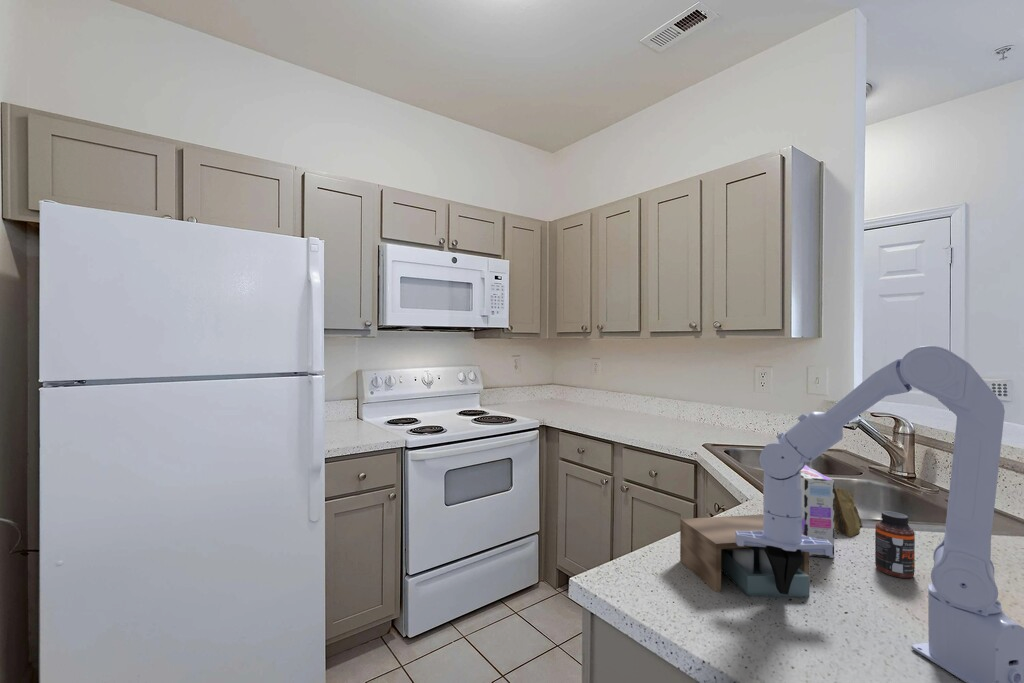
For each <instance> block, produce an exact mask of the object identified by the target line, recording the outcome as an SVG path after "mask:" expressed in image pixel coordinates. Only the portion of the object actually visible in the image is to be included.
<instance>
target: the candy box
mask: <svg viewBox="0 0 1024 683" xmlns="http://www.w3.org/2000/svg"><path fill="white" fill-rule="evenodd" d="M800 473H801V488H802V534H803V535H805V536H807V537H811V538H816V539H823V540H828V541H829V542H830V543H831V544H832V545H833V556H827V555H825V554H822V553H813V552H809V557H819V558H820V557H821V558H827V559H828V558H829V559H834V558H835V529H834V488H835V479H831V477H828V476H827V475H824V474H823V473H821V472H819V471H817V470H815V469H813V468H812V467H810V466H808V465H807V464H805V466H804V468H803V469H802V470H801V471H800Z"/></svg>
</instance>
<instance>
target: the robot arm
mask: <svg viewBox="0 0 1024 683" xmlns="http://www.w3.org/2000/svg"><path fill="white" fill-rule="evenodd" d="M913 388H915V389H916V390H918V391H921V392H923V393H925V394H927V395H930V396H931V397H934V398H936V399H937V400H938V401H939V402H940V403H941V404H942V405H943V406H944V407H946V408H947V409H948V410H949V411H950V412H952V413H953V414H954V415H955V416H956V424H955V433H954V434H955V435H954V441H953V443H954V444H953V450H952V451H953V453H952V462H951V470H950V471H951V473H950V481H949V482H950V483H949V489H948V490H949V491H948V498H947V499H948V501H947V510H946V519H945V530H944V536H943V539H942V541H941V542H940V544H938V545H937V546H936V548H935V549H934V551H933V554H932V555H933V556H932V558H933V561H934V562H933V567H932V569H931V573H930V579H931V583H929V584H928V586H927V592H928V595H927V596H928V597H927V598H928V599H927V600H928V602H927V606H928V610H927V611H928V612H927V613H928V615H927V616H928V623H927V624H928V642H923V643H915V644H911V649H912V650H913V651H914V652H917V653H918V654H919V655H921V656H923V657H925V659H928V660H930V661H931V662H932V663H934V664H936V665H937V666H938V667H940V668H942V669H943V670H946V671H947V672H948V673H950V674H951V675H953V676H955V677H956V678H957V679H960V680H961V681H963V682H965V683H1024V626H1022V625H1021V624H1019V623H1017V622H1016V621H1014V620H1012V619H1011V618H1010V617H1009V616H1008V615H1006V613H1005V612H1004V611H1003V607H1002V603H1001V602H1000V601H999V599H998V598H999V589H998V587H997V584H996V580H995V579H996V578H995V566H994V563H993V561H992V560H991V554H992V533H993V532H992V531H993V523H994V517H995V504H996V496H997V486H998V479H999V478H998V476H999V468H1000V458H1001V449H1002V442H1003V441H1002V440H1003V431H1004V430H1003V429H1004V423H1005V422H1004V421H1005V405H1004V404H1003V402H1002V401H1001V399H999V397H998V396H997V394H996V393H995V392H994V391H993V390H992V389H991V387H990V386H989V385H988V384H987V383H986V381H984V379H983V378H982V376H981V375H980V374H979V373H978V372H977V371H976V369H975V368H974V367H973V366H972V365H971V363H969V362H968V361H967V360H965V359H963V357H960V356H959V355H957V354H956V353H954V352H953V351H951V350H949V349H946V348H944V347H941V346H937V345H923V346H919V347H918V346H917V347H915V348H913V349H911V350H910V351H908V352H907V353H906V354H905V355H904V356H903V357H902V358H899V359H896V360H894V361H892V362H890V363H888V364H886V365H885V366H883V367H882V368H880V369H878V370H876V371H875V372H873V373H872V374H870V376H868V377H867V378H866V379H865V380H864V381H862V382H861V383H860V384H859V385H857V386H856V387H855V388H854V389H853V390H851V391H850V392H849V393H848V394H846V395H845V396H844V397H843V398H842V399H840V400H839V401H838V402H837V403H836V404H834V405H833V406H832V407H831V408H830V409H828V410H827V411H816V410H815V411H811V412H810V413H808V414H807V413H801V414H800V415H799V417H797V419H798V422H797V423H796V424H794V425H793V426H792V427H791V428H790V429H788V430H787V431H786V432H784V433H783V432H779V433H778V434H777V435H776V438H777V439H778V440H777V441H774V442H772V443H768V444H766V445H765V446H764V448H763V449H762V450H761V451H760V454H759V459H758V460H759V465H760V467H761V469H762V470H763V487H762V489H763V496H762V497H763V498H762V499H763V502H762V503H763V504H762V505H763V506H762V508H763V512H762V513H763V531H735V542H736V544H737V545H738V546H744V545H748V546H757V547H763V548H764V550H765V552H766V555H767V557H768V559H769V562H770V564H771V567H772V570H773V573H774V577H775V582H776V588H777V590H778V591H779V593H780V594H787V595H788V593H789V589H790V585H791V582H792V580H793V577H794V575H795V573H796V572H797V570H798V569H799V567H800V566H801V565H802V564H803V560H804V557H803V556H802V554H801V551H804V552H813V553H822V554H825V555H827V556H833V545H832V544H831V543H830V542H829V541H828V540H823V539H816V538H811V537H806V536H802V488H801V473H800V471H801V470H802V469H803V468H804V466H805V465H807V463H811V462H813V461H814V460H816V459H817V458H819V456H821V455H823V454H824V453H825V452H827V451H828V450H829V449H831V448H832V447H833V446H835V445H836V444H838V443H839V442H840V441H842V440H843V436H844V435H843V428H844V426H845V425H847V424H849V423H850V422H852V421H853V420H854V419H856V418H857V417H859V416H860V415H861V414H863V413H864V412H866V411H867V410H869V409H870V408H871V407H873V406H874V405H876V404H877V403H879V402H880V401H882V400H883V399H884V398H886V397H887V396H888V397H889V396H893V395H901V394H905V393H910V392H911V391H912V390H913Z"/></svg>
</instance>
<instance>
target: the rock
mask: <svg viewBox="0 0 1024 683" xmlns="http://www.w3.org/2000/svg"><path fill="white" fill-rule="evenodd" d="M862 526H863V522H862V518H861V517H860V514H859V510H858V508H857V506H856V505H855V502H854V494H853V493H851V492H849V491H847V490H845V489H844V488H841V487H840V488H839V487H838V488H835V487H834V531H836V532H838V533H840V534H842V535H843V534H844V535H843V536H847V537H848V538H852V537H853V536H857V535H859V534H860V532H861V527H862Z"/></svg>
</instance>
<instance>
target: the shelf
mask: <svg viewBox="0 0 1024 683" xmlns="http://www.w3.org/2000/svg"><path fill="white" fill-rule="evenodd" d="M679 523H680V527H679V528H680V534H679V536H680V537H679V538H680V539H679V540H680V541H679V542H680V546H679V550H680V552H679V553H680V554H679V557H680V558H679V561H680V562H681V563H682V564H683V565H685V567H686V568H688V569H689V570H690V571H691V572H692V573H694V575H696V576H697V577H698V578H700V579H701V580H702V581H703V582H704V584H705V583H706V584H707V585H708V586H709V587H710V588H711V589H712V590H713V591H715V593H717V592H722V570H721V549H730V548H744V547H757V546H748V545H744V546H738V545H737V544H736V542H735V531H763V514H762V513H761V514H748V515H747V514H745V515H732V516H731V515H730V516H729V515H728V516H726V515H725V516H712V517H696V518H695V517H694V518H680V522H679ZM802 536H805V535H803V534H802ZM806 537H807V536H806ZM801 554H802V556H803V557H804V560H803V564H802V565H801V566H800V567H799V569H800V570H802V571H803V572H804V573H806V574H807V575H808V576H809V577H810V556H809V552H804V551H801Z"/></svg>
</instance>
